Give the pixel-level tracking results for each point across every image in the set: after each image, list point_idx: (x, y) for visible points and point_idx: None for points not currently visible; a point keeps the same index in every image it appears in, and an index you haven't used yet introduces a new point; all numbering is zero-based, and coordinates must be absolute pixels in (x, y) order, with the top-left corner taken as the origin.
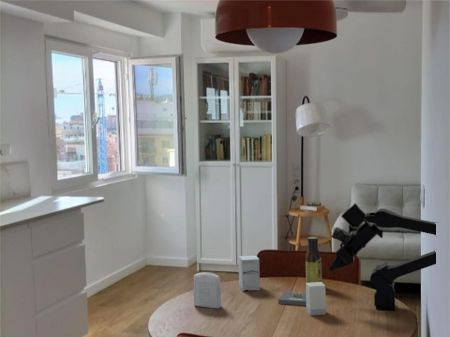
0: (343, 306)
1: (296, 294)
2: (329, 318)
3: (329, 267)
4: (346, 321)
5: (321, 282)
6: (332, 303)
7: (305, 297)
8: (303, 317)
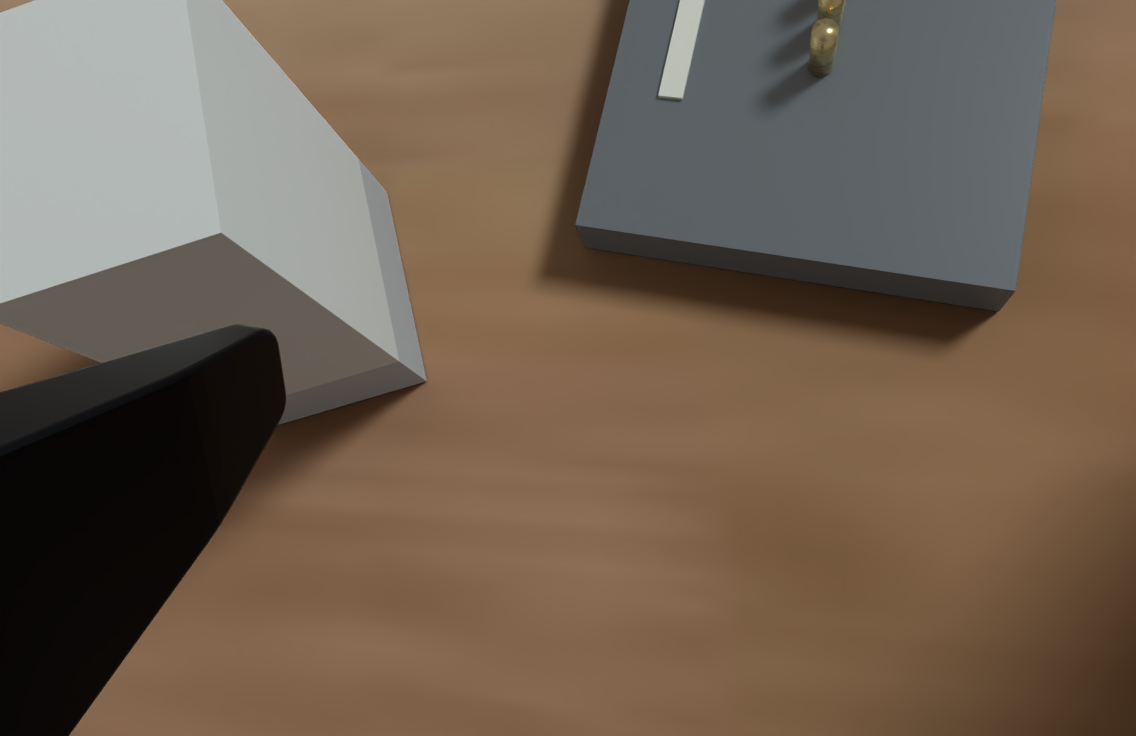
0: (584, 709)
1: (934, 2)
2: None
3: (193, 339)
4: None
5: (176, 238)
6: (721, 550)
7: (788, 136)
8: None
